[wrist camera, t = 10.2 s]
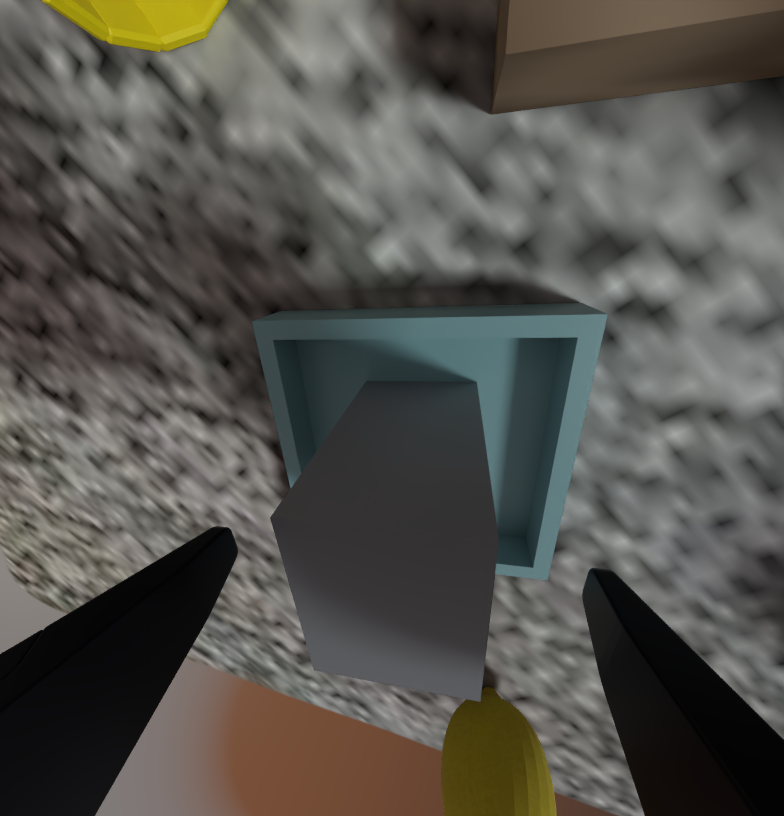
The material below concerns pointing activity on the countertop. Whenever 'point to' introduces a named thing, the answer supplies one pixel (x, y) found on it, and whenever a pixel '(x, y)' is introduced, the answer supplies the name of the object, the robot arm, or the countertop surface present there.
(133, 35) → the watch
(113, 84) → the countertop surface
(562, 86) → the walnut dock
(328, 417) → the teal tray
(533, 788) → the lemon
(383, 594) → the plug block
